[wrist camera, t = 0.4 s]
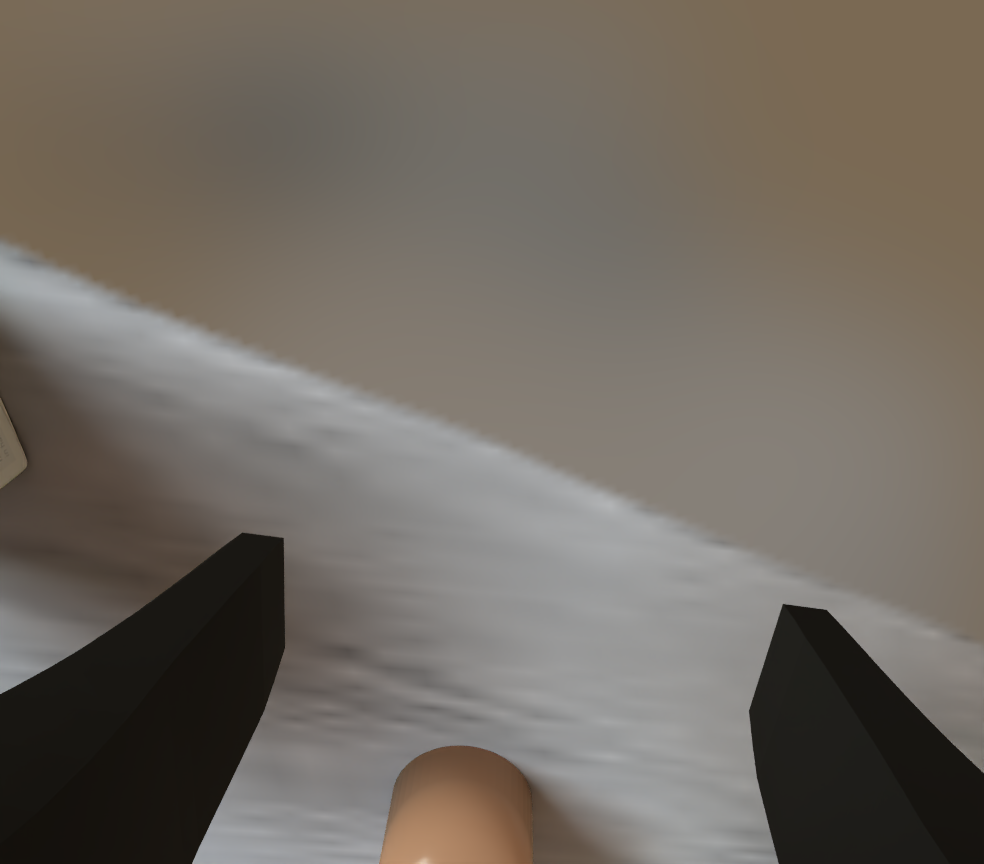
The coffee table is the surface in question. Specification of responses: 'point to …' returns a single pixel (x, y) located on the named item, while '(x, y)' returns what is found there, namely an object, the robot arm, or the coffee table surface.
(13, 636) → the coffee table surface
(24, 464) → the syrup box
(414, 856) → the peach domed cylinder
